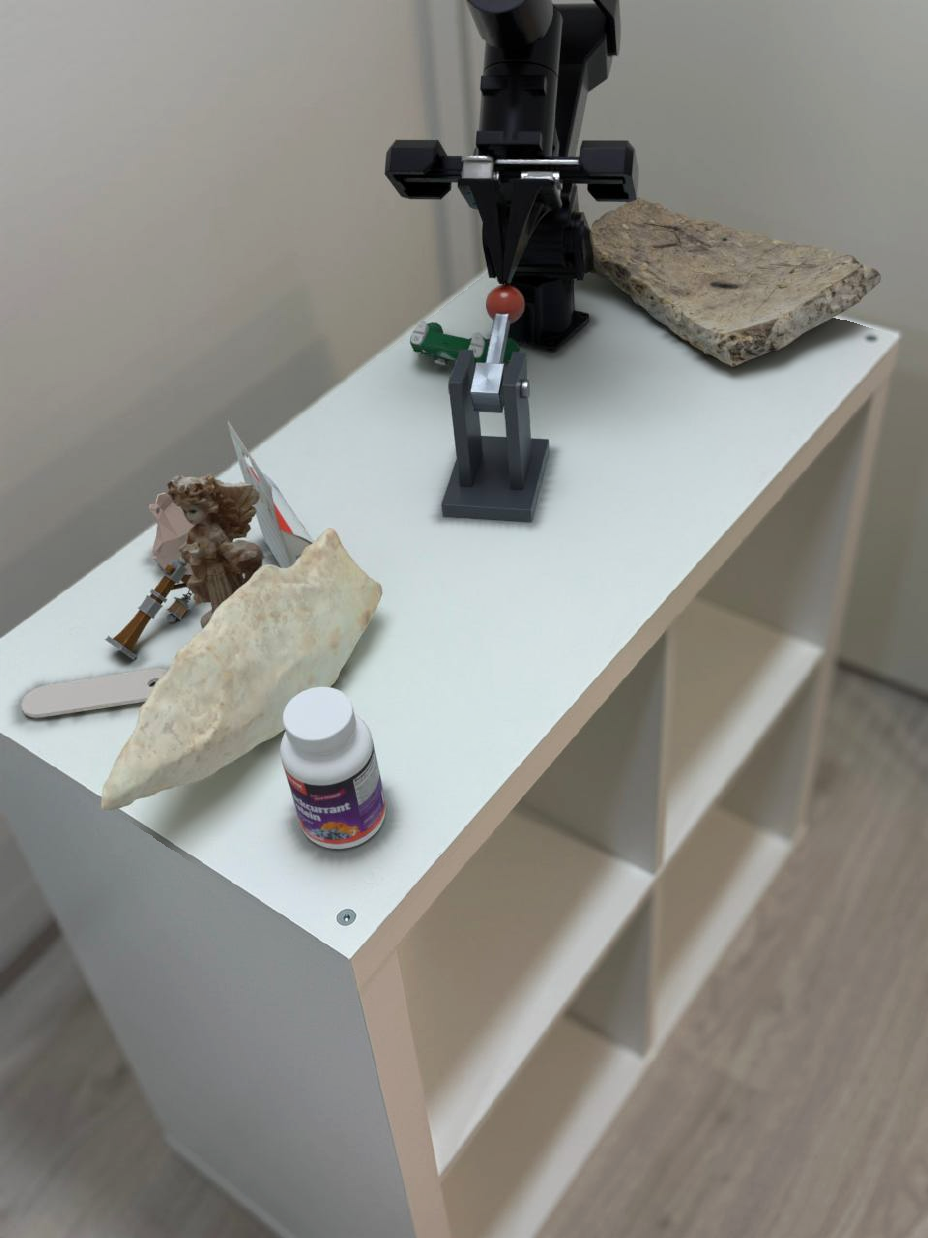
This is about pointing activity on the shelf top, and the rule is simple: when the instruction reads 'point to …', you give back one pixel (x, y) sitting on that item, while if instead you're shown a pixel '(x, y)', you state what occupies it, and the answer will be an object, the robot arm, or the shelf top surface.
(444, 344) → the gaming controller
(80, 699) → the keychain
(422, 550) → the shelf top surface
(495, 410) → the lever
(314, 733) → the pill bottle
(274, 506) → the ink box
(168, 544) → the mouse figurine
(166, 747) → the arrowhead
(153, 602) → the wooden post with brackets
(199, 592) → the figurine
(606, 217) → the stone fragment
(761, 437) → the shelf top surface
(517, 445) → the bracket
